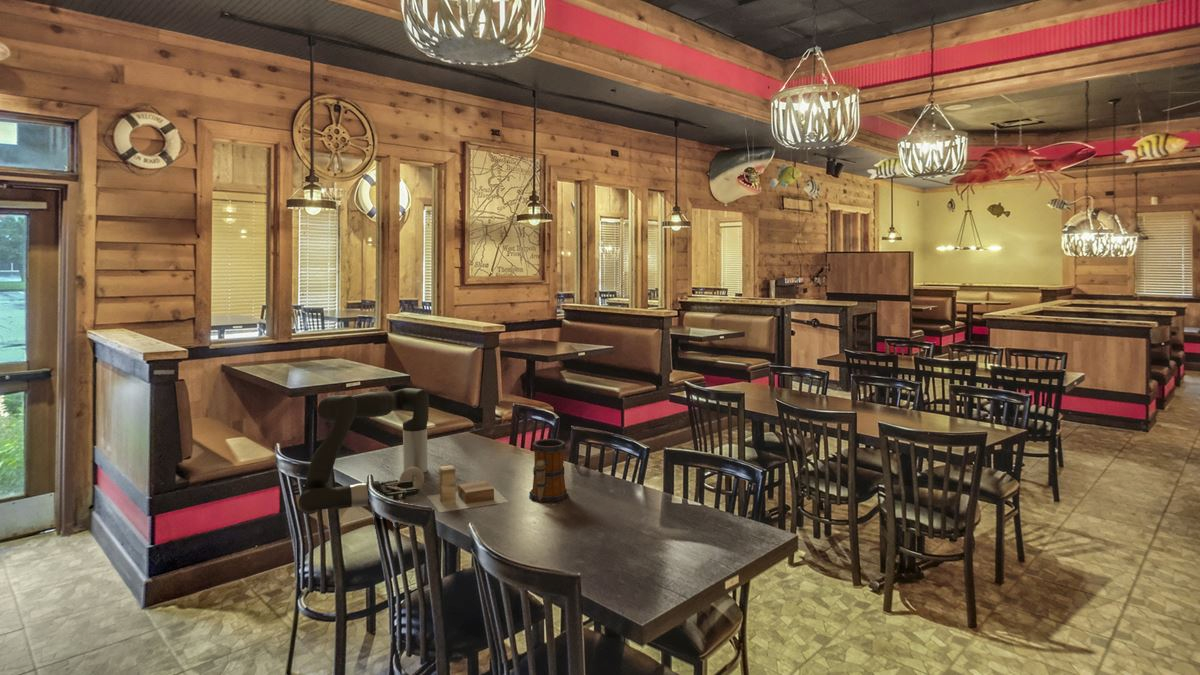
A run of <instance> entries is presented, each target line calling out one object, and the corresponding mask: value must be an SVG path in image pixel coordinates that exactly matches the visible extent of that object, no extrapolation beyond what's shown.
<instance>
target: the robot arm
mask: <svg viewBox="0 0 1200 675" xmlns="http://www.w3.org/2000/svg"><path fill="white" fill-rule="evenodd" d="M429 397H430V396H429V393H428V392H427V390H425V389H422V388H412V387H405V388H401V389H397V390H393V391H388V390H386V391H384V390H383V391H382V390H380V391H370V392H369V391H368V392H365V393H364V392H363V393H359V394H355V395H349V394H335V395H334V394H332V395H328V396H325V397H324V398H323V399H322V400H320V402H319V403H318V406H317V414H318V416H319V417H320V419H321V420H322V421H324V422H326V423H332V424H333V426H332V429H331V431H330V432H329V433H328V435H327V436H326V438H325V439H324V441H323V442H322V443H321V444H320V445H319V446H318V448H317V449H316V451H315V452H314V454H313V456H312V457H311V461H310V464H309V467H308V471H307V473H306V480H305V483H304V486H303V488H302V491H301V494H300V496H299V498H298V502H297V504H298V509H299V511H300V512H301V513H302V514H305V515H314V514H316V513H317V512H319V510H320V511H321V510H327V509H328V510H329V509H334V510H341V509H342V510H343V509H348V508H361V507H370V506H371V505H370V502H369V499H368V495H369V491H368V484H369V482H370V481H367V482H358V483H355V484H354V483H353V484H350V485H340V486H336V487H327V485H328V483H329V481H330V479H331V475H332V472H333V469H334V465H335V464H336V463H335V462H336V459H337V457H338V453H339V452H340V449H341V447H342V445H343V443H344V441H345V439H346V437H347V435H348V433H349V430H350V428H351V426H352V424H353V423H354V420H355V418H378V417H384V416H387V415H389V414H391V413H392V411H402V412H410V413H413V414H412V418H410V419H407V420H405V421H403V423H402V446H403V447H402V450H403V451H402V452H403V471H405V470H406V469H407V468H409V467H414V466H415V467H418V468H420V469H421V470H422V472H423V474H425V473H426V472H428V471H429V470H428V468H429V467H428V463H429V462H428V457H429V456H428V422H429V410H430V409H429V408H430V398H429ZM371 482H372V485H373V487H374V488H375V489H376V490H377V491H379V492H380V493H382V494H384V495H386V496H387V497H389V498H391V499H394V500H396V501H403V500H407V498H408V497H412V496H418V495H419V491H418V488H412V489H404V488H411V487H413V483H414V481H413V480H409V481H405V482H401V481H399V479H394V480H388V481H379V480H376V481H375V480H374V481H371ZM401 488H402V489H401Z"/></svg>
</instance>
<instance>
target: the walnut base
mask: <svg viewBox="0 0 1200 675" xmlns="http://www.w3.org/2000/svg"><path fill="white" fill-rule="evenodd" d="M494 488H495V487H493V486H492V485H490V484H489V482H488V481H487V480H480V481H474V482H464V483H458V484H457V492H458V496H459V497H460V498H461V499H462V500H463V501H464V502H465V504H470V503H477V502H483V501H490V500H494Z"/></svg>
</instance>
